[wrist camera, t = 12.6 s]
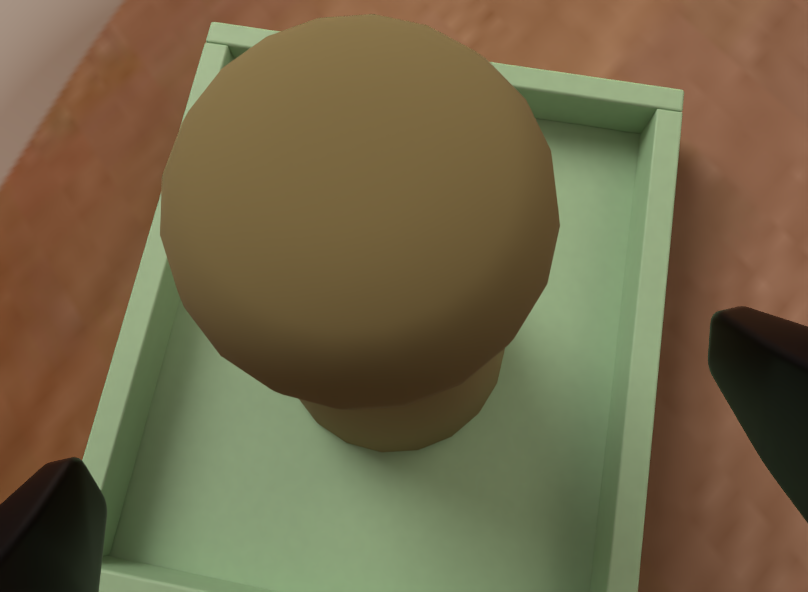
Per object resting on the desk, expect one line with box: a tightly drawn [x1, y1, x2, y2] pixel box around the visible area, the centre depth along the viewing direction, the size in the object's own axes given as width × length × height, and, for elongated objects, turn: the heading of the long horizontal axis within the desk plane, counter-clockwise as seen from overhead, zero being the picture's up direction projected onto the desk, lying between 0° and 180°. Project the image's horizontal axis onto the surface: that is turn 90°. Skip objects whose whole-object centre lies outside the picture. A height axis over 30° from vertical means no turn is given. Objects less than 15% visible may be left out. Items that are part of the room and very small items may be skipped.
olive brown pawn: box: [160, 14, 560, 452], centre depth 13 cm, size 6×6×11 cm
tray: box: [82, 22, 684, 592], centre depth 17 cm, size 15×13×2 cm
